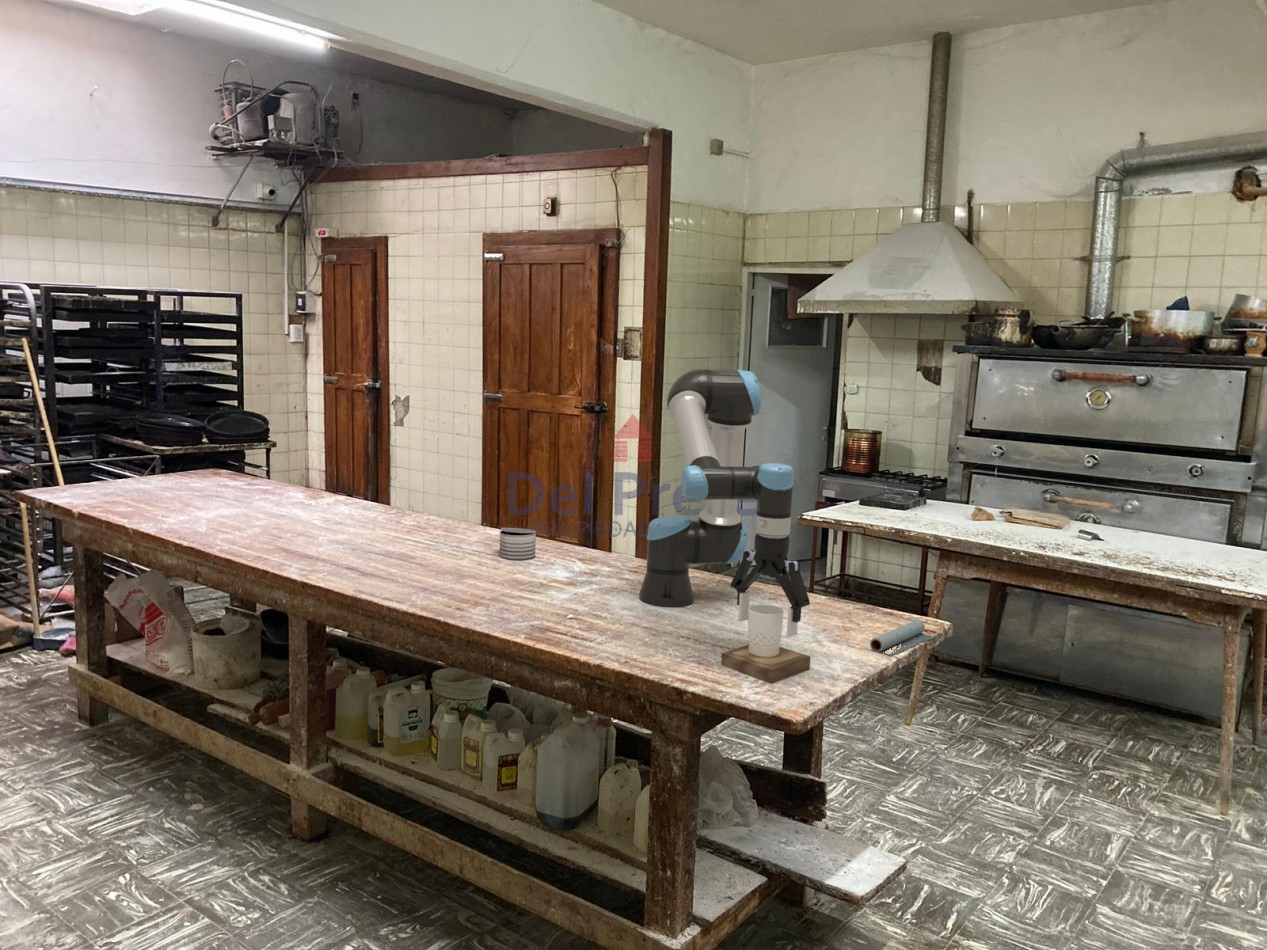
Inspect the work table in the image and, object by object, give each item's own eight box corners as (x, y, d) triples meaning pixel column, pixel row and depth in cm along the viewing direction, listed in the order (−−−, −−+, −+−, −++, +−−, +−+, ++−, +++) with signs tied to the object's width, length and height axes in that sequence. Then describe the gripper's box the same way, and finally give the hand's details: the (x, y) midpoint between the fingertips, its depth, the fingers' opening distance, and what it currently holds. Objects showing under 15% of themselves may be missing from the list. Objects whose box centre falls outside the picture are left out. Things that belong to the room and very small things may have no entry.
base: (721, 666, 211) (721, 652, 211) (760, 653, 221) (760, 640, 220) (771, 683, 201) (771, 669, 201) (809, 669, 211) (810, 655, 210)
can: (492, 564, 299) (492, 527, 297) (521, 560, 307) (521, 523, 305) (513, 571, 291) (513, 533, 289) (542, 566, 298) (543, 529, 297)
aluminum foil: (912, 631, 244) (913, 618, 243) (936, 637, 239) (937, 624, 239) (869, 650, 227) (870, 636, 227) (894, 657, 223) (895, 643, 222)
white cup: (742, 655, 209) (744, 611, 208) (750, 645, 217) (753, 602, 215) (777, 660, 207) (779, 616, 205) (784, 650, 214) (787, 607, 212)
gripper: (718, 526, 213) (713, 617, 216) (809, 547, 195) (802, 645, 199) (739, 522, 218) (734, 611, 222) (830, 542, 201) (823, 638, 204)
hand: (766, 627), depth 210 cm, fingers open, 13 cm apart
